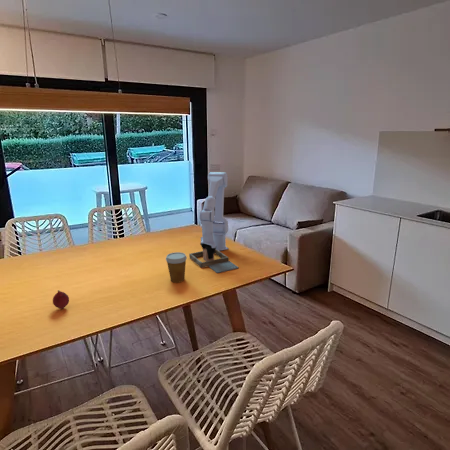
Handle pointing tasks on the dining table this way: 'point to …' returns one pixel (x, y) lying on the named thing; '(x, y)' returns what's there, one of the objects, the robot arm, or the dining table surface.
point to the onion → (60, 299)
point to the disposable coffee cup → (176, 266)
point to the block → (206, 255)
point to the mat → (223, 267)
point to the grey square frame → (207, 263)
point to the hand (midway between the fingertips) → (208, 257)
